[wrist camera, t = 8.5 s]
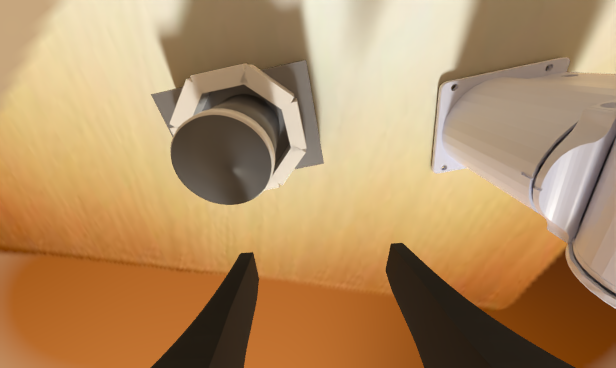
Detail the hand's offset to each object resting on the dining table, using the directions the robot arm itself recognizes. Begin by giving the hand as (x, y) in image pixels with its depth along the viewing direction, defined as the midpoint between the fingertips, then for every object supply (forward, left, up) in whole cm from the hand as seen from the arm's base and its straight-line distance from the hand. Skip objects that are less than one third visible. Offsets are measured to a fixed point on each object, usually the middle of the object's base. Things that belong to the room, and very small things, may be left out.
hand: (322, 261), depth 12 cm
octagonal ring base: (+4, -6, -10) cm, 12 cm away
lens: (+4, -6, -7) cm, 10 cm away
